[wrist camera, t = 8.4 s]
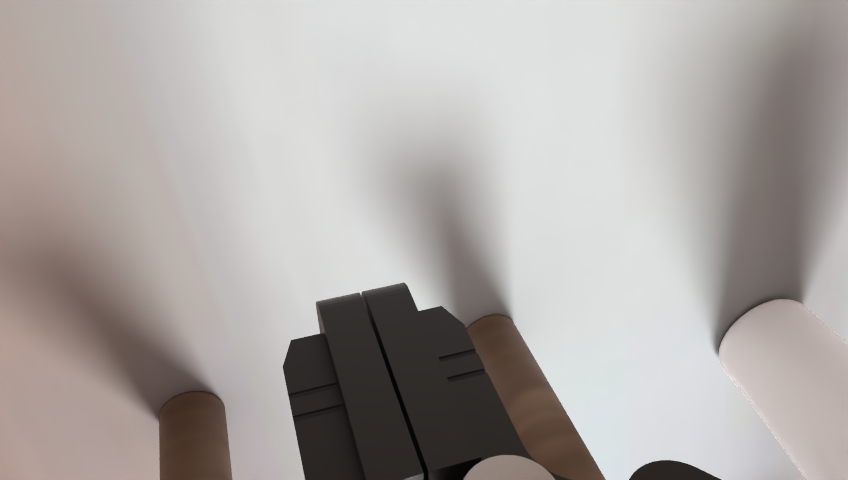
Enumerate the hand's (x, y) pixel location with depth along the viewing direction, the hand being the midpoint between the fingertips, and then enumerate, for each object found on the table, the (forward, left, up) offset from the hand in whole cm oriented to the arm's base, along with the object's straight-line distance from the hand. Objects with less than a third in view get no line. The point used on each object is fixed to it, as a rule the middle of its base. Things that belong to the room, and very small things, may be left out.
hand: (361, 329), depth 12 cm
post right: (+15, +7, -13) cm, 21 cm away
